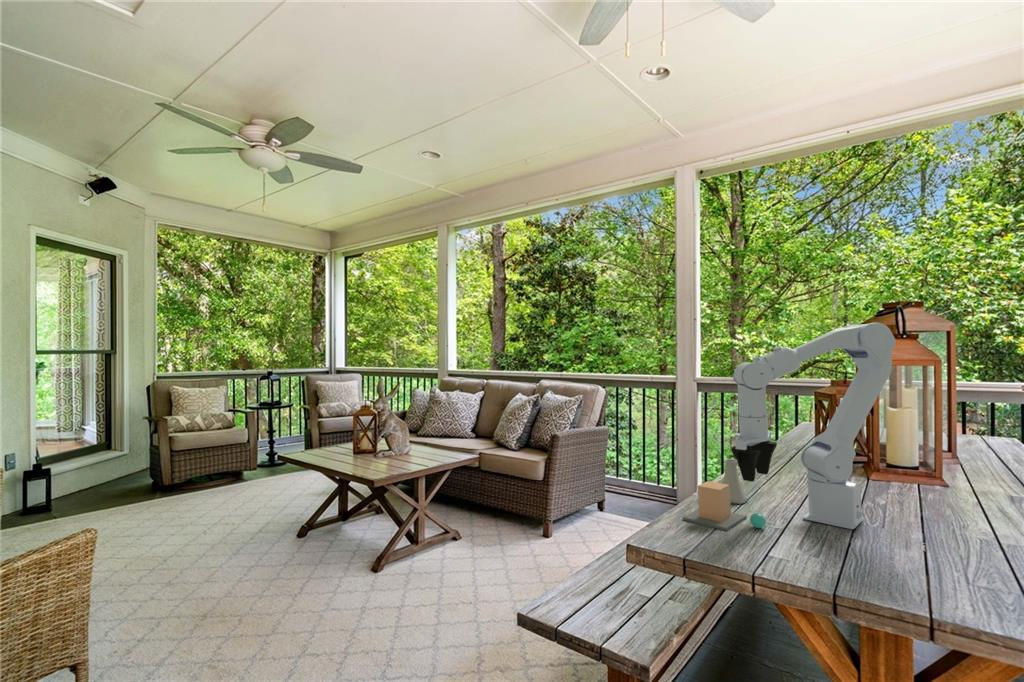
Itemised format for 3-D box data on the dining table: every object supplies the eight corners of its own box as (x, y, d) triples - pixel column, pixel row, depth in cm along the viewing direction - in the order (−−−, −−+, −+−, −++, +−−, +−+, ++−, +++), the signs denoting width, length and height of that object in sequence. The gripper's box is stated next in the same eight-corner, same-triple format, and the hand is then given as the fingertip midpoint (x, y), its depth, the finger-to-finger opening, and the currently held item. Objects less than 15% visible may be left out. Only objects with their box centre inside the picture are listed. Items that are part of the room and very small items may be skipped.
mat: (746, 518, 108) (746, 515, 108) (726, 530, 102) (726, 528, 102) (703, 508, 116) (703, 506, 116) (682, 519, 109) (682, 517, 109)
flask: (744, 506, 116) (742, 464, 117) (713, 501, 121) (711, 461, 121) (751, 498, 122) (749, 458, 122) (721, 494, 127) (719, 455, 127)
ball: (768, 527, 102) (767, 513, 103) (762, 531, 100) (762, 517, 101) (753, 524, 105) (753, 510, 105) (747, 528, 103) (747, 513, 103)
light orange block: (731, 516, 108) (729, 484, 109) (721, 522, 105) (719, 489, 105) (709, 511, 112) (707, 481, 112) (699, 516, 109) (697, 485, 109)
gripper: (747, 411, 116) (750, 467, 115) (720, 418, 106) (723, 480, 106) (779, 413, 110) (782, 472, 110) (753, 421, 101) (756, 486, 101)
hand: (755, 477), depth 108 cm, fingers open, 7 cm apart
